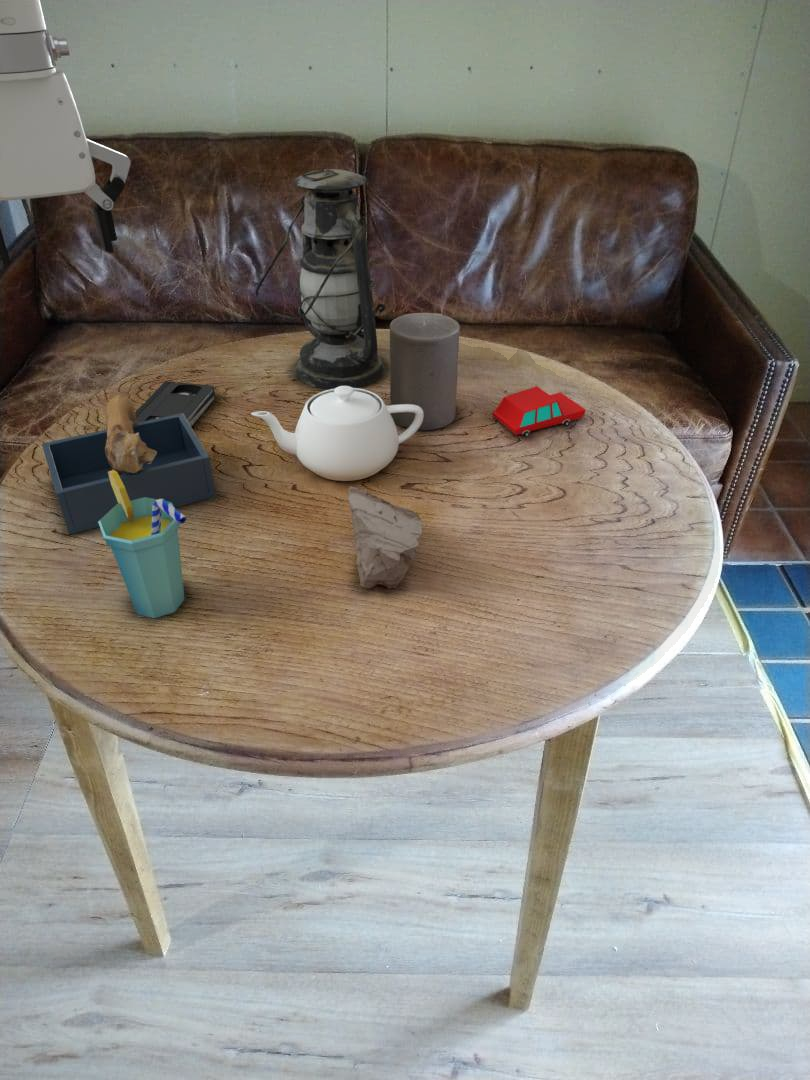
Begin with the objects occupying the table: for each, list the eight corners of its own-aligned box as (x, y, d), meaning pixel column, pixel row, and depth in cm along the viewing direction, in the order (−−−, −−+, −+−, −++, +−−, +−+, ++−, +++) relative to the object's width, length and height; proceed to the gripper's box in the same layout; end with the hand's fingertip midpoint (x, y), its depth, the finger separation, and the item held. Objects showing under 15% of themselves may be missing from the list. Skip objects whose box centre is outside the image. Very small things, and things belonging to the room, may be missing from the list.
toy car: (585, 421, 115) (589, 395, 112) (515, 439, 111) (517, 413, 108) (558, 402, 120) (562, 377, 117) (490, 419, 115) (492, 394, 113)
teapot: (412, 430, 113) (412, 359, 106) (434, 481, 102) (436, 406, 95) (255, 445, 109) (246, 373, 103) (261, 500, 98) (251, 423, 92)
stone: (425, 612, 82) (461, 524, 83) (360, 583, 78) (399, 490, 79) (354, 586, 95) (386, 509, 96) (294, 560, 90) (329, 479, 91)
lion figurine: (164, 495, 96) (157, 445, 89) (119, 506, 94) (108, 456, 87) (134, 410, 103) (125, 358, 96) (91, 418, 101) (79, 366, 94)
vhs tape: (178, 443, 110) (175, 431, 108) (124, 438, 111) (121, 425, 110) (216, 397, 121) (214, 385, 120) (167, 392, 122) (165, 380, 121)
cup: (236, 614, 82) (216, 493, 73) (174, 656, 77) (144, 531, 68) (154, 560, 89) (126, 443, 80) (93, 595, 84) (56, 475, 75)
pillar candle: (381, 425, 114) (378, 324, 105) (402, 395, 121) (402, 299, 112) (446, 435, 111) (449, 333, 102) (464, 405, 119) (468, 307, 110)
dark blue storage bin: (69, 535, 93) (55, 493, 89) (53, 482, 102) (41, 443, 98) (216, 496, 99) (209, 456, 96) (189, 450, 108) (182, 412, 105)
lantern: (412, 376, 127) (413, 174, 108) (314, 413, 117) (297, 197, 99) (341, 340, 138) (332, 152, 120) (247, 371, 128) (221, 171, 110)
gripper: (101, 47, 75) (137, 234, 85) (-106, 57, 69) (-39, 257, 79) (116, 55, 70) (153, 254, 80) (-106, 66, 63) (-35, 280, 74)
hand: (58, 255), depth 79 cm, fingers open, 9 cm apart
